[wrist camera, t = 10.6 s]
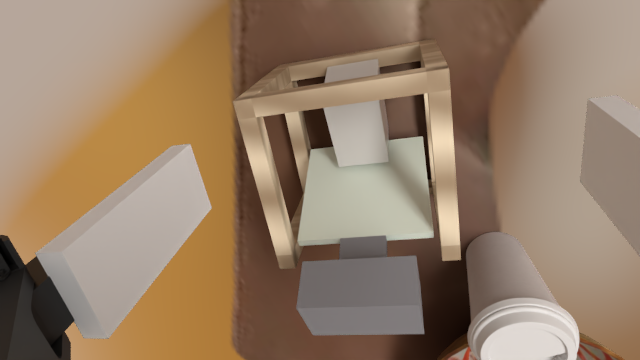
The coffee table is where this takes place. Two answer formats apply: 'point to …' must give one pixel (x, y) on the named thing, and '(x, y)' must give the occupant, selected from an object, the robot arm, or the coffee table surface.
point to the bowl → (589, 356)
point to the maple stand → (286, 97)
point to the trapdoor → (364, 242)
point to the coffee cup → (514, 305)
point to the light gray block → (358, 120)
